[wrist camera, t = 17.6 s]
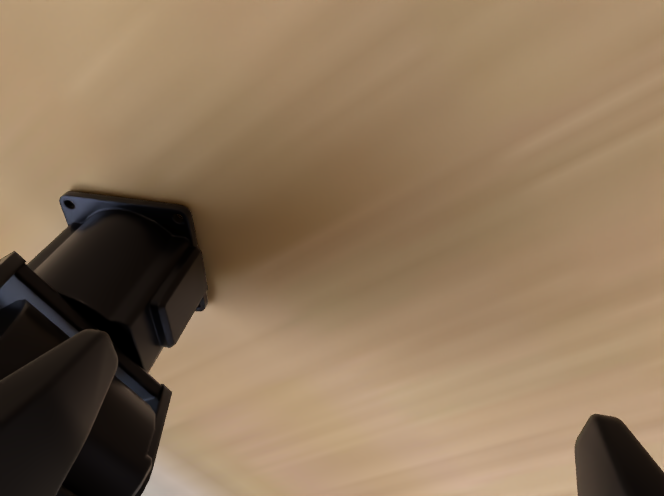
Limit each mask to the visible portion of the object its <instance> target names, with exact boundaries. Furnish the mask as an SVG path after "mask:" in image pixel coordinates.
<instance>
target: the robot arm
mask: <svg viewBox="0 0 664 496" xmlns="http://www.w3.org/2000/svg"><path fill="white" fill-rule="evenodd" d="M59 201H60V205H61V207H62V210H63V213H64V215H65V218H66V221H67V223H68V227H67V228H66V229H65V230H64V231H63V232H62V233H61V234H60V235H59V236H58V237H56V238H55V239H54V240H53V241H52V242H51V243H50V244H49V245H48V246H47V247H46V248H45V249H43V250H42V251H41V252H40V253H39V254H38V255H37V256H36V257H35V258H34V259H33V260H32V261H30V262H29V263H28V264H27V265H26V264H25V262H26V261H25V260H24V259H23V258H22V257H21V256H20V255H19V254H17V253H16V252H15V251H13V252H12V253H10V254H9V255H7V256H5V257H4V258H2V259H0V496H141V494H142V493H143V491H144V489H145V487H146V485H147V483H148V481H149V479H150V476H151V473H152V470H153V466H154V462H155V458H156V454H157V450H158V446H159V442H160V438H161V434H162V430H163V426H164V422H165V418H166V414H167V410H168V407H169V403H170V399H171V395H172V392H171V391H170V390H169V389H168V388H167V387H166V386H165V385H164V384H159V383H158V382H157V381H156V380H155V379H154V378H153V377H151V376H150V375H149V374H148V372H149V370H150V369H151V367H152V365H153V364H154V362H155V360H156V359H157V357H158V355H159V354H160V352H161V350H162V349H163V347H168V348H171V347H172V346H173V345H175V344H176V342H177V341H178V339H179V337H180V335H181V334H182V332H183V330H184V329H185V327H186V325H187V323H188V322H189V320H190V318H191V317H192V315H193V313H194V311H203V310H204V309H205V307H206V305H207V304H208V299H207V293H206V291H207V289H208V285H207V279H206V274H205V268H204V263H203V257H202V252H201V250H200V249H199V247H198V245H197V240H196V234H195V229H194V223H193V218H192V214H191V212H190V210H189V209H188V208H186V207H185V206H182V205H177V204H169V203H161V202H153V201H145V200H137V199H129V198H121V197H113V196H105V195H97V194H89V193H81V192H73V191H68V192H66V193H65V194H64V195H63V196H61V197H60V200H59ZM72 202H73V203H72ZM177 214H179V215H181V216H182V217H183V218H180V217H179V216H178V215H177ZM575 463H576V476H577V489H578V496H664V472H663V471H662V470H661V468H660V467H659V466H658V465H657V463H656V462H655V461H654V460H653V458H652V457H651V456H650V455H649V454H648V452H647V451H646V450H645V449H644V447H643V446H642V445H641V444H640V442H639V441H638V440H637V439H636V437H635V436H634V435H633V434H632V433H631V431H630V430H629V429H628V428H627V426H626V425H625V424H624V423H623V422H622V421H621V420H620V419H618V418H616V417H612V416H606V415H600V414H594V415H592V416H590V418H589V419H588V421H587V422H586V424H585V426H584V427H583V429H582V431H581V432H580V434H579V436H578V437H577V440H576V443H575Z"/></svg>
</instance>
